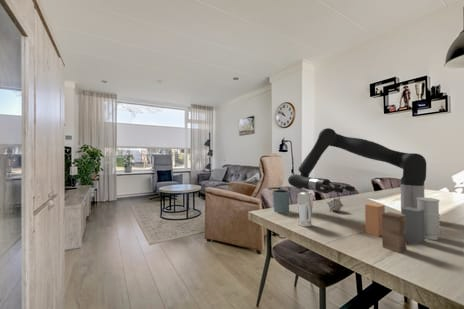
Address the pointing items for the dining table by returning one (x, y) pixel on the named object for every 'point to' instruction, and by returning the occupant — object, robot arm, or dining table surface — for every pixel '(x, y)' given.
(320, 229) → the dining table surface
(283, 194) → the grey-green cup
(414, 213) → the grey block
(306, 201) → the beer glass
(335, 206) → the game die
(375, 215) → the orange block
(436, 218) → the grey ribbed canister
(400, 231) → the walnut block
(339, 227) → the dining table surface
